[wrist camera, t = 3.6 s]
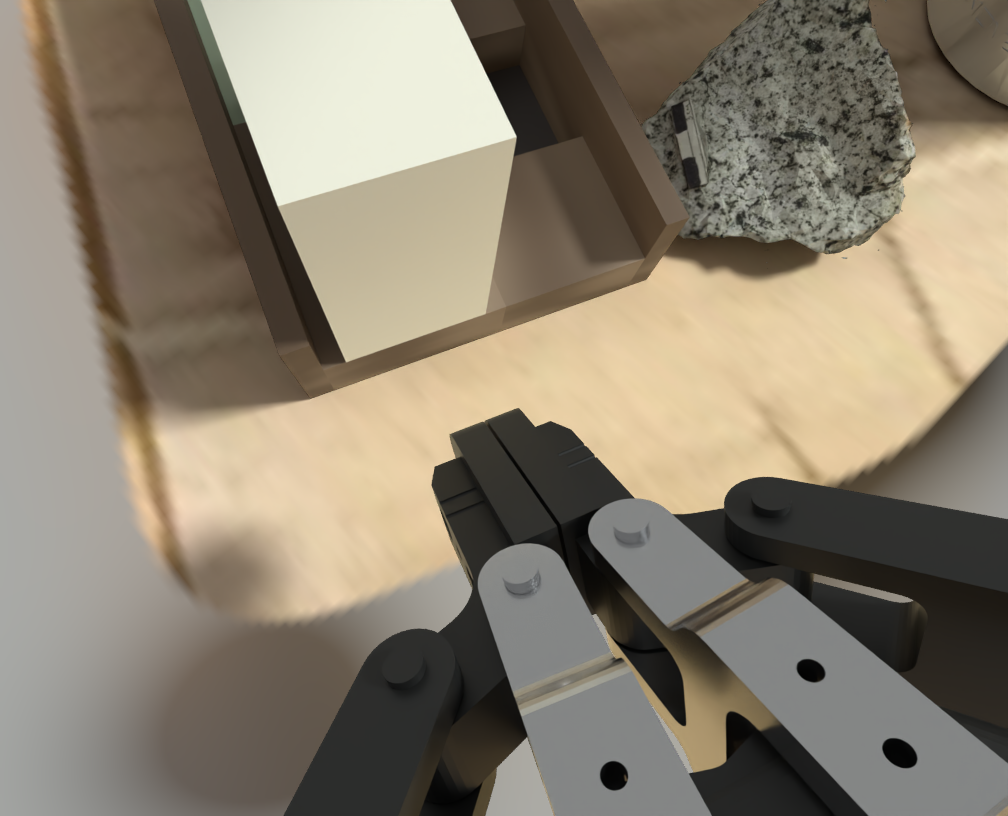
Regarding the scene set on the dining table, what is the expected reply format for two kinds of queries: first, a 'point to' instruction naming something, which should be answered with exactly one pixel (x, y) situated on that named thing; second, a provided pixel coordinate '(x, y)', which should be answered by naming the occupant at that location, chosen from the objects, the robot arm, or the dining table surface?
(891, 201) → the rock sample
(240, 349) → the dining table surface
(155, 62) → the dining table surface
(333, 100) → the brick
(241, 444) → the dining table surface
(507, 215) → the box
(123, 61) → the dining table surface
